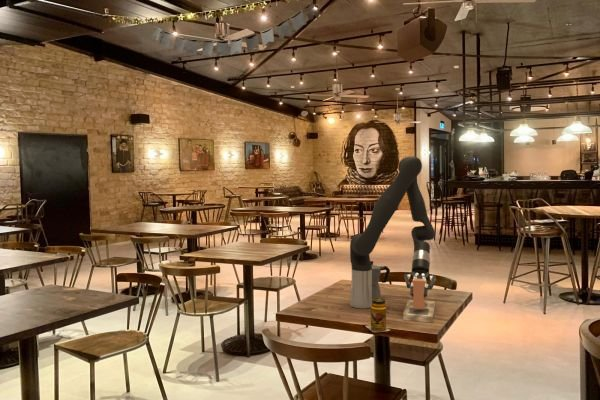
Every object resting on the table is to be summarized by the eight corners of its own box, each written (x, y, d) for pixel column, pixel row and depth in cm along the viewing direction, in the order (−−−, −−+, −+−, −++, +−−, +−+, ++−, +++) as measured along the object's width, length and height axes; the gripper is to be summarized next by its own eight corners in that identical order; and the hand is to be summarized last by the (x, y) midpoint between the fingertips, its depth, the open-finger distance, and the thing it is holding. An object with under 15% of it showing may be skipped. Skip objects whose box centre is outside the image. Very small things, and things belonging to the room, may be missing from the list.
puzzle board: (402, 320, 216) (403, 313, 216) (408, 304, 239) (408, 298, 239) (432, 322, 213) (432, 315, 213) (434, 306, 236) (434, 300, 235)
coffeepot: (357, 299, 249) (357, 262, 248) (358, 294, 259) (358, 258, 257) (389, 300, 247) (390, 263, 246) (389, 295, 256) (389, 259, 255)
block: (412, 308, 218) (413, 280, 218) (413, 305, 223) (414, 278, 222) (423, 309, 217) (424, 281, 216) (424, 306, 221) (424, 278, 220)
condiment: (374, 333, 200) (374, 302, 199) (364, 326, 208) (365, 297, 207) (390, 331, 202) (391, 301, 202) (381, 324, 210) (381, 295, 210)
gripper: (404, 257, 228) (400, 290, 217) (437, 258, 223) (435, 293, 213) (405, 266, 233) (402, 299, 222) (437, 268, 229) (436, 302, 218)
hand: (418, 296), depth 218 cm, fingers closed on block, 4 cm apart
